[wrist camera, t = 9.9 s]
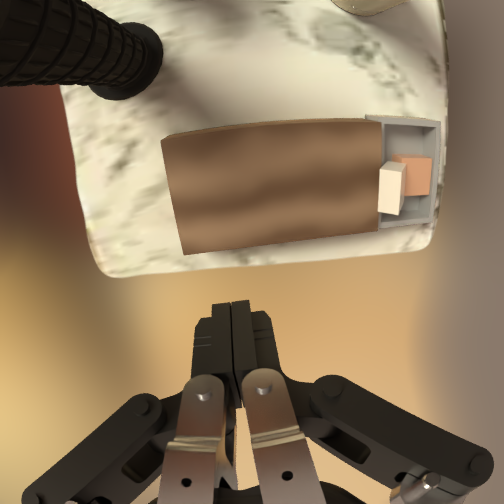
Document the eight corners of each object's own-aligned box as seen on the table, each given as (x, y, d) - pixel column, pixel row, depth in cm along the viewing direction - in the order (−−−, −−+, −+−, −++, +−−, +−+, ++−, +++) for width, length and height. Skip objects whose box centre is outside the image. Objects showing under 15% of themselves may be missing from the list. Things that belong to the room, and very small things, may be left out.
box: (365, 114, 31) (378, 116, 28) (425, 118, 32) (440, 121, 29) (363, 218, 38) (374, 229, 35) (419, 212, 38) (432, 222, 35)
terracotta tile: (432, 158, 31) (421, 154, 33) (402, 157, 31) (392, 153, 33) (428, 194, 34) (419, 188, 36) (399, 196, 34) (390, 190, 36)
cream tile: (379, 168, 29) (401, 172, 28) (387, 160, 32) (406, 163, 31) (377, 211, 31) (398, 215, 30) (385, 198, 35) (403, 201, 34)
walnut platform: (169, 135, 31) (160, 140, 27) (362, 118, 32) (381, 122, 27) (188, 236, 37) (183, 255, 33) (361, 215, 38) (377, 230, 34)
